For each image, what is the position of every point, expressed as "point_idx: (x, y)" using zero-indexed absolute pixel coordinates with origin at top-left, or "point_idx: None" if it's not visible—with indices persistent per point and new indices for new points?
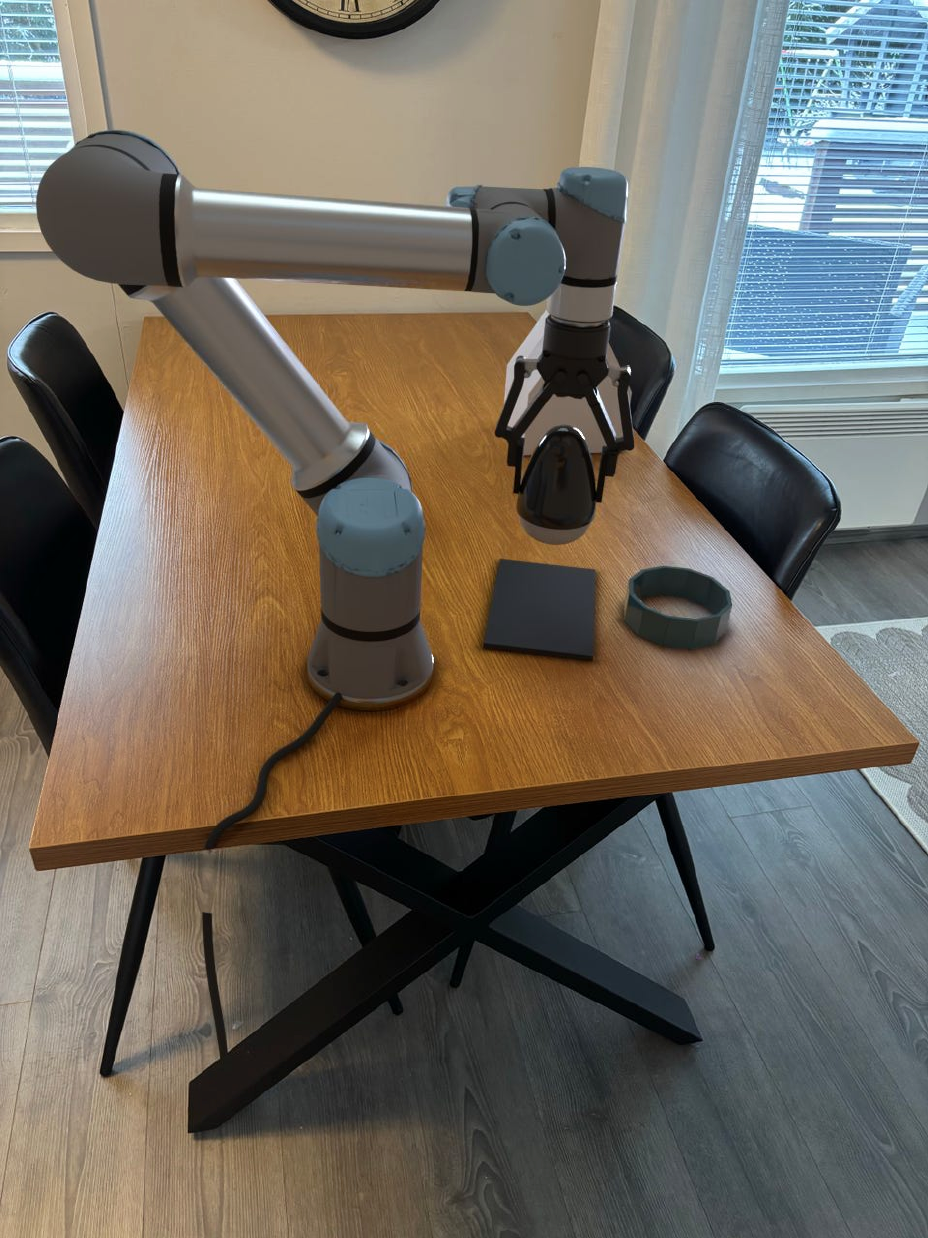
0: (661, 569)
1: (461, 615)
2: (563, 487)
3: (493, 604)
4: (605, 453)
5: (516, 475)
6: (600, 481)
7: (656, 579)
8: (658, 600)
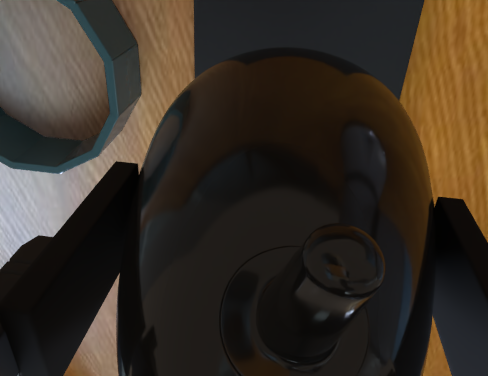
0: (63, 162)
1: (478, 20)
2: (264, 134)
3: (404, 57)
4: (17, 321)
5: (482, 249)
6: (94, 211)
7: (78, 150)
8: (84, 123)
